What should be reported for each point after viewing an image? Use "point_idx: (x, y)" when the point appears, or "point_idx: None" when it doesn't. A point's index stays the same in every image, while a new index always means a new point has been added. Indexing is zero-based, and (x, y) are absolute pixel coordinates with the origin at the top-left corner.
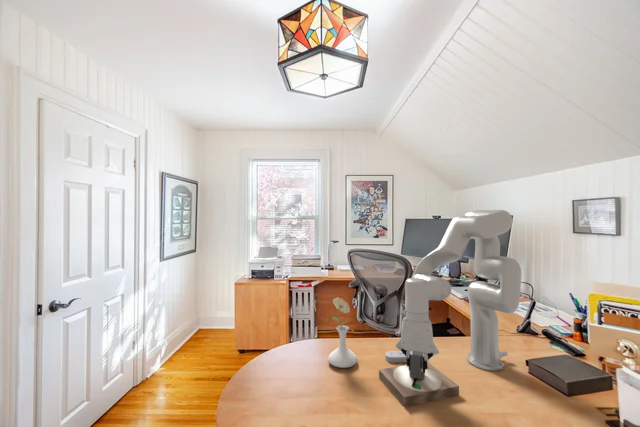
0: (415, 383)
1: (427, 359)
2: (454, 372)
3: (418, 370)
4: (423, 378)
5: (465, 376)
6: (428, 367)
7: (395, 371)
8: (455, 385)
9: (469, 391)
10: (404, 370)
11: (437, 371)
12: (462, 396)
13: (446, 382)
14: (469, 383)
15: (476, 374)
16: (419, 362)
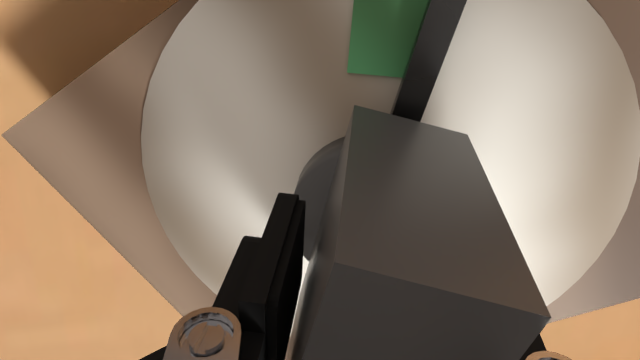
0: (415, 43)
1: (189, 335)
2: (116, 338)
3: (369, 156)
4: (310, 162)
5: (53, 311)
6: None
7: (584, 251)
8: (29, 137)
9: (3, 169)
10: None
11: (189, 302)
12: (35, 98)
13: (106, 166)
14: (20, 251)
15: (2, 334)
16: (345, 235)
